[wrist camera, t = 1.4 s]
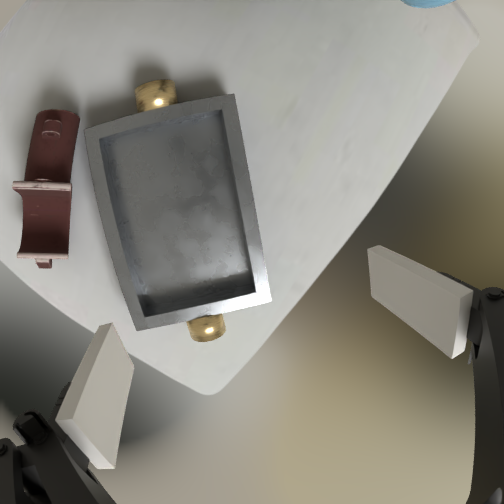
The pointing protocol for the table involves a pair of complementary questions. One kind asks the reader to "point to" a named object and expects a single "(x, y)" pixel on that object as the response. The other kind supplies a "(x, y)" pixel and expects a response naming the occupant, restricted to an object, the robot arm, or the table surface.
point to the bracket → (48, 187)
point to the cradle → (179, 210)
